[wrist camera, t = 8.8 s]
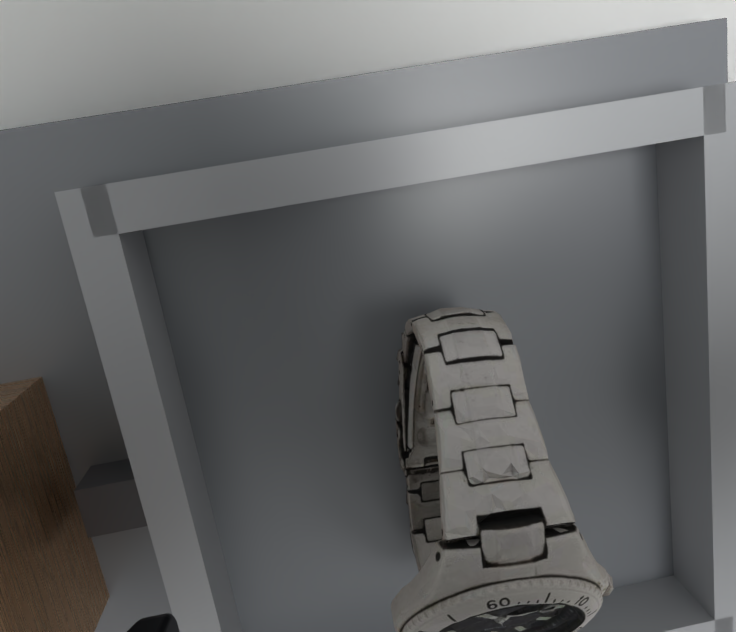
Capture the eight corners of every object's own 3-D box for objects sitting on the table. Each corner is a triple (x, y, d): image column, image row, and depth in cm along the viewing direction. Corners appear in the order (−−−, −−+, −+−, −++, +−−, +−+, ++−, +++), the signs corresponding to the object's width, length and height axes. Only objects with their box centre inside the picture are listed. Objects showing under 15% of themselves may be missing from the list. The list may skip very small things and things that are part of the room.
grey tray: (719, 615, 16) (882, 790, 11) (-94, 796, 15) (-265, 1074, 10) (706, 24, 12) (935, -54, 8) (-363, 190, 11) (-806, 209, 7)
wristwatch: (372, 568, 14) (413, 785, 9) (348, 294, 12) (381, 378, 7) (526, 546, 14) (645, 745, 9) (521, 277, 13) (660, 347, 8)
